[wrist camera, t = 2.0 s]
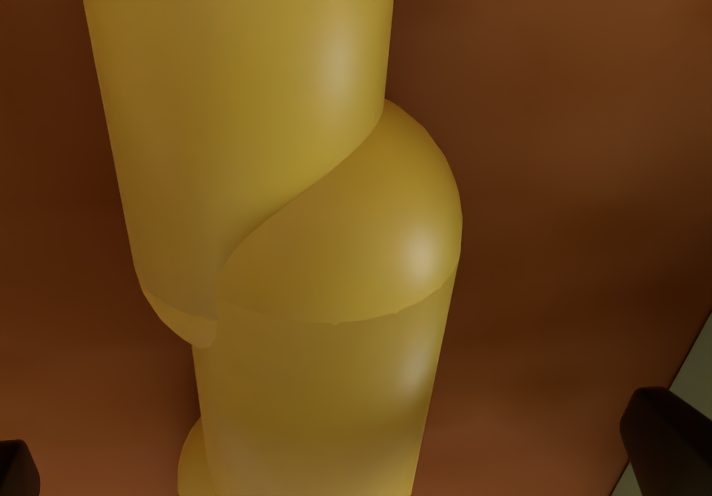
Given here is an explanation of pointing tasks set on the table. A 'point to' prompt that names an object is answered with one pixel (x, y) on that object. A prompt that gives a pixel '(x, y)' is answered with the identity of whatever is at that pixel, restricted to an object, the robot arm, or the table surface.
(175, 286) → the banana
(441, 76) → the table surface
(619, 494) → the green block
